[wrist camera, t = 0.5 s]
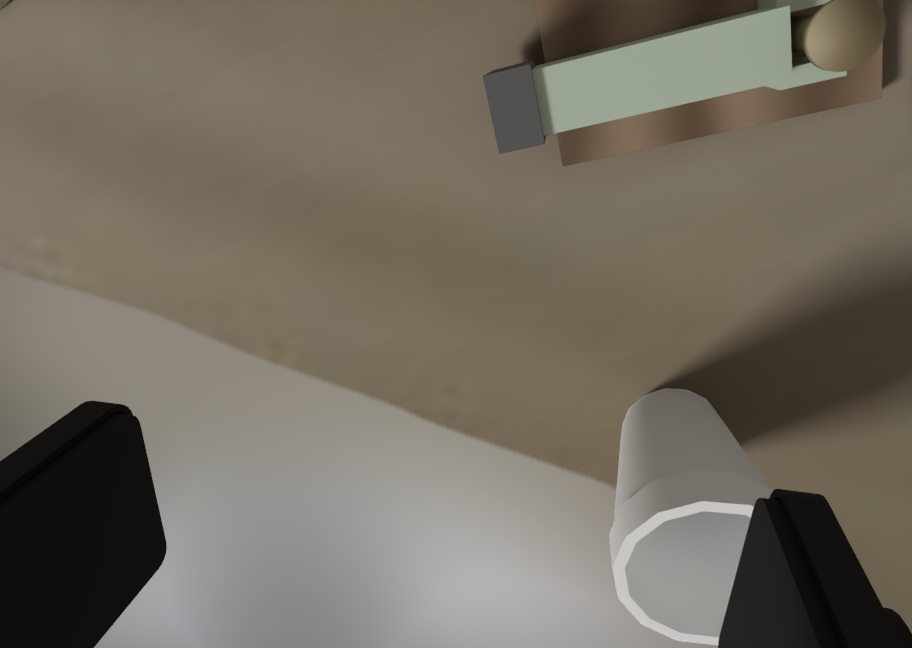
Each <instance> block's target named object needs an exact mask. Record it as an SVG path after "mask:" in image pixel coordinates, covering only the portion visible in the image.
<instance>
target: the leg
mask: <svg viewBox="0 0 912 648" xmlns="http://www.w3.org/2000/svg"><path fill="white" fill-rule="evenodd" d="M829 1H830V0H757V7H758V10H754V11H750V12H746V13H742V14H738V15H734V16H730V17H727V18H723V19H719V20H715V21H711V22H707V23H703V24H699V25H695V26H691V27H687V28H683V29H679V30H675V31H671V32H667V33H663V34H659V35H655V36H652V37H648V38H644V39H640V40H636V41H632V42H628V43H624V44H620V45H616V46H612V47H608V48H604V49H600V50H596V51H592V52H588V53H584V54H580V55H576V56H573V57H569V58H565V59H561V60H557V61H553V62H549V63H545V64H541V65H537V66H535V60H532V61H528V62H524V63H520V64H516V65H512V66H508V67H505V68H501V69H497V70H493V71H491V72H490V73H488V74H486V75H484V76H483V79H484V83H485V88H486V93H487V98H488V102H489V107H490V112H491V117H492V121H493V126H494V131H495V136H496V140H497V145H498V150H499V154H501V153H506V152H510V151H515V150H519V149H524V148H528V147H533V146H537V145H542V144H545V138H546V135H550V134H554V133H559V132H563V131H568V130H572V129H576V128H581V127H585V126H590V125H594V124H599V123H603V122H607V121H612V120H616V119H621V118H625V117H630V116H634V115H638V114H643V113H647V112H652V111H656V110H660V109H665V108H669V107H674V106H678V105H683V104H687V103H691V102H696V101H700V100H705V99H709V98H714V97H718V96H722V95H727V94H731V93H736V92H740V91H744V90H749V89H753V88H758V87H762V86H765V87H769V88H773V89H777V90H784V89H788V88H793V87H797V86H802V85H806V84H811V83H815V82H820V81H824V80H829V79H833V78H838V77H842V76H847V71H844V72H832V71H826V70H822V69H820V68H818V67H816V66H814V65H813V64H812V63H811V62H810V61H809V59H808V58H807V56H805V57H801V58H797V59H792V51H791V22H790V12H794V11H798V10H802V9H806V8H810V7H814V6H818V5H822V4H825V3H827V2H829Z"/></svg>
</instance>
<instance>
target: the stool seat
mask: <svg viewBox="0 0 912 648" xmlns="http://www.w3.org/2000/svg"><path fill="white" fill-rule="evenodd" d="M534 2H535V8H536V14H537V19H538V25H539V31H540V37H541V42H542V48H543V54H544V60H545V63H549V62H553V61H557V60H561V59H565V58H569V57H573V56H576V55H580V54H584V53H588V52H592V51H596V50H600V49H604V48H608V47H612V46H616V45H620V44H624V43H628V42H632V41H636V40H640V39H644V38H648V37H652V36H655V35H659V34H663V33H667V32H671V31H675V30H679V29H683V28H687V27H691V26H695V25H699V24H703V23H707V22H711V21H715V20H719V19H723V18H727V17H730V16H734V15H738V14H742V13H746V12H750V11H754V10H758V7H757V0H534ZM790 22H791V51H792V59H797V58H801V57H805V56H807V58H808V59H809V61H810V62H811V63H812V64H813V65H814V66H816V67H818V68H820V69H822V70H826V71H832V72H844V71H847V76H842V77H838V78H833V79H829V80H824V81H820V82H815V83H811V84H806V85H802V86H797V87H793V88H788V89H784V90H777V89H773V88H769V87H765V86H762V87H758V88H753V89H749V90H744V91H740V92H736V93H731V94H727V95H722V96H718V97H714V98H709V99H705V100H700V101H696V102H691V103H687V104H683V105H678V106H674V107H669V108H665V109H660V110H656V111H652V112H647V113H643V114H638V115H634V116H630V117H625V118H621V119H616V120H612V121H607V122H603V123H599V124H594V125H590V126H585V127H581V128H576V129H572V130H568V131H563V132H559V133H557V135H558V140H559V146H560V152H561V158H562V163H563V166H567V165H572V164H576V163H581V162H586V161H590V160H595V159H600V158H604V157H609V156H614V155H618V154H623V153H628V152H633V151H637V150H642V149H647V148H651V147H656V146H661V145H665V144H670V143H675V142H679V141H684V140H689V139H693V138H698V137H703V136H708V135H712V134H717V133H722V132H726V131H731V130H736V129H740V128H745V127H750V126H754V125H759V124H764V123H768V122H773V121H778V120H783V119H787V118H792V117H797V116H801V115H806V114H811V113H815V112H820V111H825V110H829V109H834V108H839V107H843V106H848V105H853V104H858V103H862V102H867V101H872V100H876V99H881V98H882V56H883V38H884V35H885V30H886V18H885V14H884V11H883V0H830V1H829V2H827V3H825V4H822V5H818V6H814V7H810V8H806V9H802V10H798V11H794V12H790Z"/></svg>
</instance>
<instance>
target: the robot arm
mask: <svg viewBox="0 0 912 648" xmlns="http://www.w3.org/2000/svg"><path fill="white" fill-rule="evenodd" d="M9 1H10V0H0V9H1V8H2V7H4V6H5V5H6V4H7V3H8V2H9ZM165 554H166V539H165V535H164V530H163V526H162V522H161V517H160V512H159V508H158V503H157V499H156V494H155V489H154V485H153V480H152V476H151V472H150V467H149V462H148V458H147V454H146V449H145V444H144V440H143V435H142V430H141V426H140V423H139V420H138V419H137V418H136V416H133V414H132V412H131V410H130V409H129V408H128V407H127V406H124V405H121V404H114V403H105V402H98V401H87V402H85V403H83V404H81V405H79V406H78V407H76V408H75V409H74V410H72V411H71V412H69V413H68V414H67V415H65V416H64V417H62V418H61V419H59V420H58V421H57V422H56V423H54V424H52V425H51V426H50V427H48V428H47V429H45V430H44V431H43V432H41V433H40V434H38V435H37V436H36V437H34V438H33V439H31V440H30V441H29V442H27V443H26V444H24V445H23V446H21V447H20V448H18V449H17V450H16V451H15V452H13V453H12V454H10V455H9V456H7V457H6V458H4V459H3V460H2V461H0V648H94V647H95V645H96V644H97V643H98V642H99V640H100V639H101V638H102V637H103V636H104V634H105V633H106V632H107V631H108V630H109V628H110V627H111V626H112V625H113V624H114V622H115V621H116V620H117V619H118V617H119V616H120V615H121V614H122V612H123V611H124V610H125V609H126V607H127V606H128V605H129V604H130V603H131V602H132V600H133V599H134V598H135V597H136V596H137V594H138V593H139V592H140V591H141V589H142V588H143V587H144V586H145V585H146V583H147V582H148V581H149V580H150V578H151V577H152V576H153V575H154V574H155V572H156V571H157V570H158V569H159V567H160V566H161V564H162V562H163V560H164V557H165ZM718 648H912V634H911V632H910V630H909V628H908V627H907V625H906V624H905V622H904V621H903V619H902V618H901V617H900V615H899V614H897V613H896V612H895V611H893V610H892V609H888V608H883V607H882V605H881V603H880V601H879V599H878V597H877V595H876V593H875V591H874V589H873V588H872V586H871V584H870V582H869V580H868V578H867V576H866V574H865V572H864V570H863V568H862V567H861V565H860V563H859V561H858V559H857V557H856V555H855V553H854V551H853V549H852V547H851V545H850V544H849V542H848V540H847V538H846V536H845V534H844V532H843V530H842V528H841V526H840V524H839V523H838V521H837V519H836V517H835V515H834V513H833V511H832V509H831V507H830V505H829V503H828V502H827V500H826V499H825V497H824V496H822V495H820V494H813V493H805V492H797V491H790V490H782V489H775V490H773V492H772V493H771V495H770V497H769V499H767V498H758V499H757V500H756V502H755V505H754V508H753V512H752V516H751V519H750V523H749V527H748V531H747V534H746V538H745V542H744V546H743V549H742V553H741V557H740V561H739V564H738V568H737V572H736V576H735V579H734V583H733V587H732V591H731V594H730V598H729V602H728V606H727V609H726V613H725V617H724V621H723V624H722V628H721V632H720V636H719V643H718Z"/></svg>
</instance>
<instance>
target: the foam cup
mask: <svg viewBox="0 0 912 648" xmlns="http://www.w3.org/2000/svg"><path fill="white" fill-rule="evenodd" d="M622 427H623V428H622V431H621V443H620V455H619V467H618V479H617V491H616V503H615V515H614V524H613V526H612V529H611V531H610V533H609V538H610V549H611V560H612V569H613V574H614V579H615V585H616V590H617V595H618V599H619V600H620V601H621V602H622V603H623V604H624V605H625V607H626V608H627V609H628V610H629V611H630V612H631V613H632V614H633V615H634V617H635V618H636V619H637V620H638V621H639V622H640V623H641V624H642V625H644V626H646V627H648V628H651V629H653V630H655V631H657V632H659V633H661V634H663V635H666V636H668V637H670V638H672V639H674V640H677V641H684V642H692V643H702V644H710V645H718V643H719V636H720V632H721V628H722V624H723V621H724V617H725V613H726V609H727V606H728V602H729V598H730V594H731V591H732V587H733V583H734V579H735V576H736V572H737V568H738V564H739V561H740V557H741V553H742V549H743V546H744V542H745V538H746V534H747V531H748V527H749V523H750V519H751V516H752V512H753V508H754V505H755V502H756V500H757V499H758V498H767V499H769V497H770V495H771V493H772V492H773V490H772V489H770V488H769V486H768V485H767V483H766V482H765V480H764V479H763V478H762V476H761V475H760V473H759V472H758V470H757V469H756V468H755V466H754V465H753V463H752V462H751V460H750V459H749V457H748V456H747V455H746V453H745V452H744V450H743V449H742V447H741V446H740V445H739V443H738V442H737V440H736V439H735V437H734V436H733V435H732V433H731V432H730V430H729V429H728V427H727V426H726V425H725V423H724V422H723V420H722V419H721V417H720V416H719V415H718V413H717V412H716V411H715V410H714V408H713V407H712V406H711V404H710V403H709V402H708V400H707V399H706V398H704V397H702V396H700V395H698V394H696V393H694V392H692V391H689V390H687V389H671V388H664V389H661V390H658V391H655V392H652V393H649V394H646V395H644V396H642V397H641V398H640V399H639V400H638V401H637V402H636V403H634V404H633V405H632V406H631V407H630V408H629V409H628V412H627V414H626V417H625V419H624V422H623V425H622Z"/></svg>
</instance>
